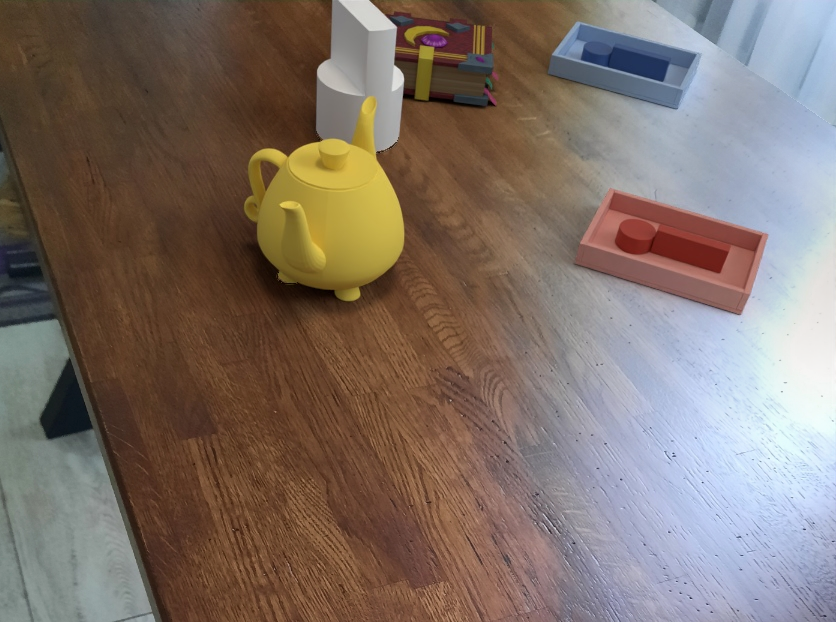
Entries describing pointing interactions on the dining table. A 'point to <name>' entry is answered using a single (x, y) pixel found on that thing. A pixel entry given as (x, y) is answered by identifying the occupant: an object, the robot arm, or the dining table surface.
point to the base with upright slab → (359, 74)
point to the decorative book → (444, 58)
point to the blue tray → (664, 93)
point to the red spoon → (671, 244)
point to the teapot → (328, 212)
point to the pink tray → (665, 272)
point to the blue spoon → (627, 59)
